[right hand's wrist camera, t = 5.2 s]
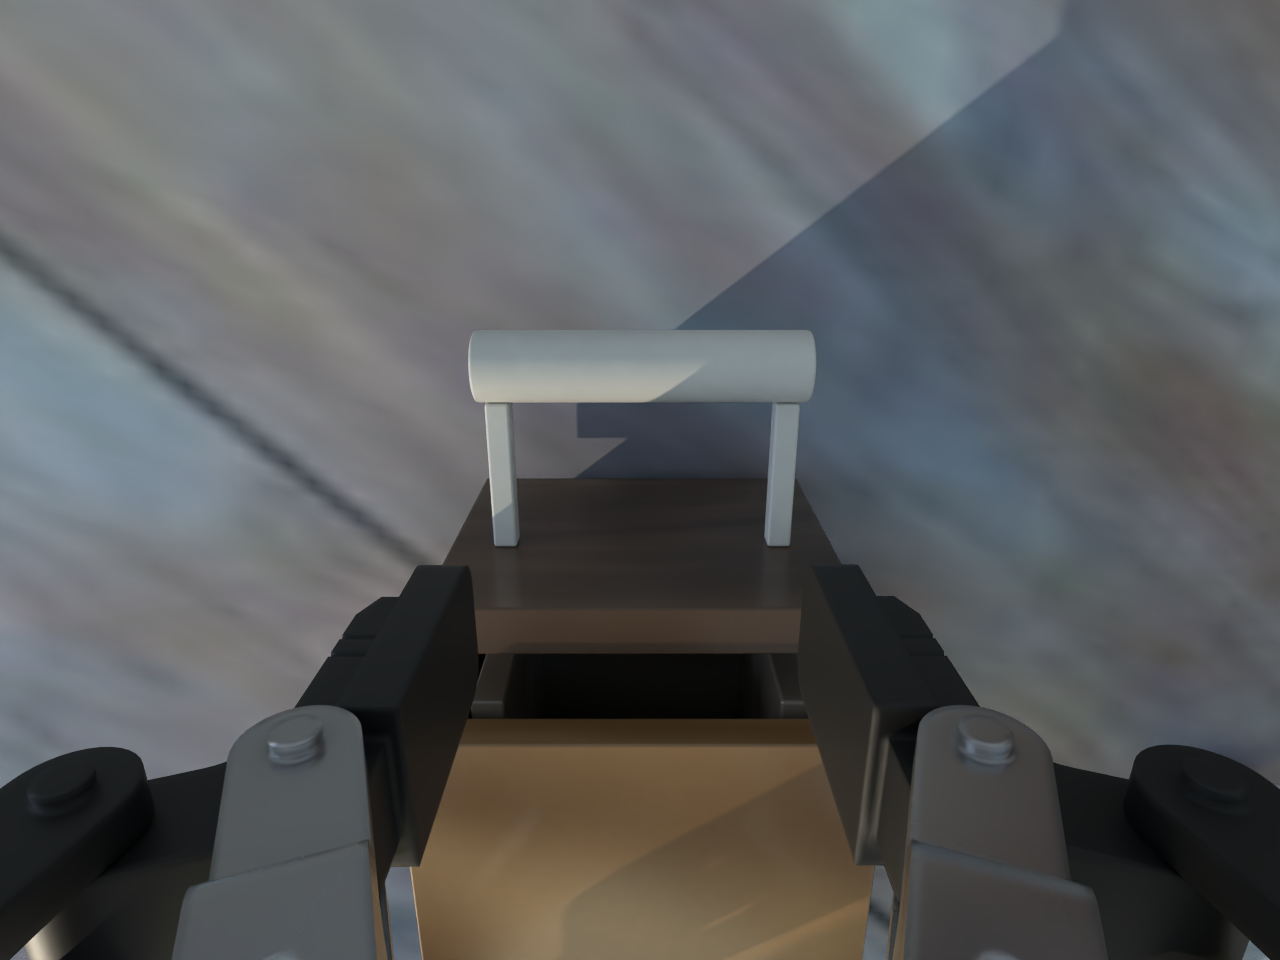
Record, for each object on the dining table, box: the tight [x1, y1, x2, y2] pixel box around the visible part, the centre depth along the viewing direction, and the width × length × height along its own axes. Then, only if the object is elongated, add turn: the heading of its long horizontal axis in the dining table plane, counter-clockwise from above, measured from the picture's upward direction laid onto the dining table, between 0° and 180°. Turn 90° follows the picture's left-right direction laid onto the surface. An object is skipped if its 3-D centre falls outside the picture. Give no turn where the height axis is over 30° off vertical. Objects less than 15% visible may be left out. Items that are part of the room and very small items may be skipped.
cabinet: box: [410, 654, 875, 960], centre depth 25 cm, size 16×11×10 cm
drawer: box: [443, 330, 842, 719], centre depth 23 cm, size 21×10×8 cm, turn 0°
